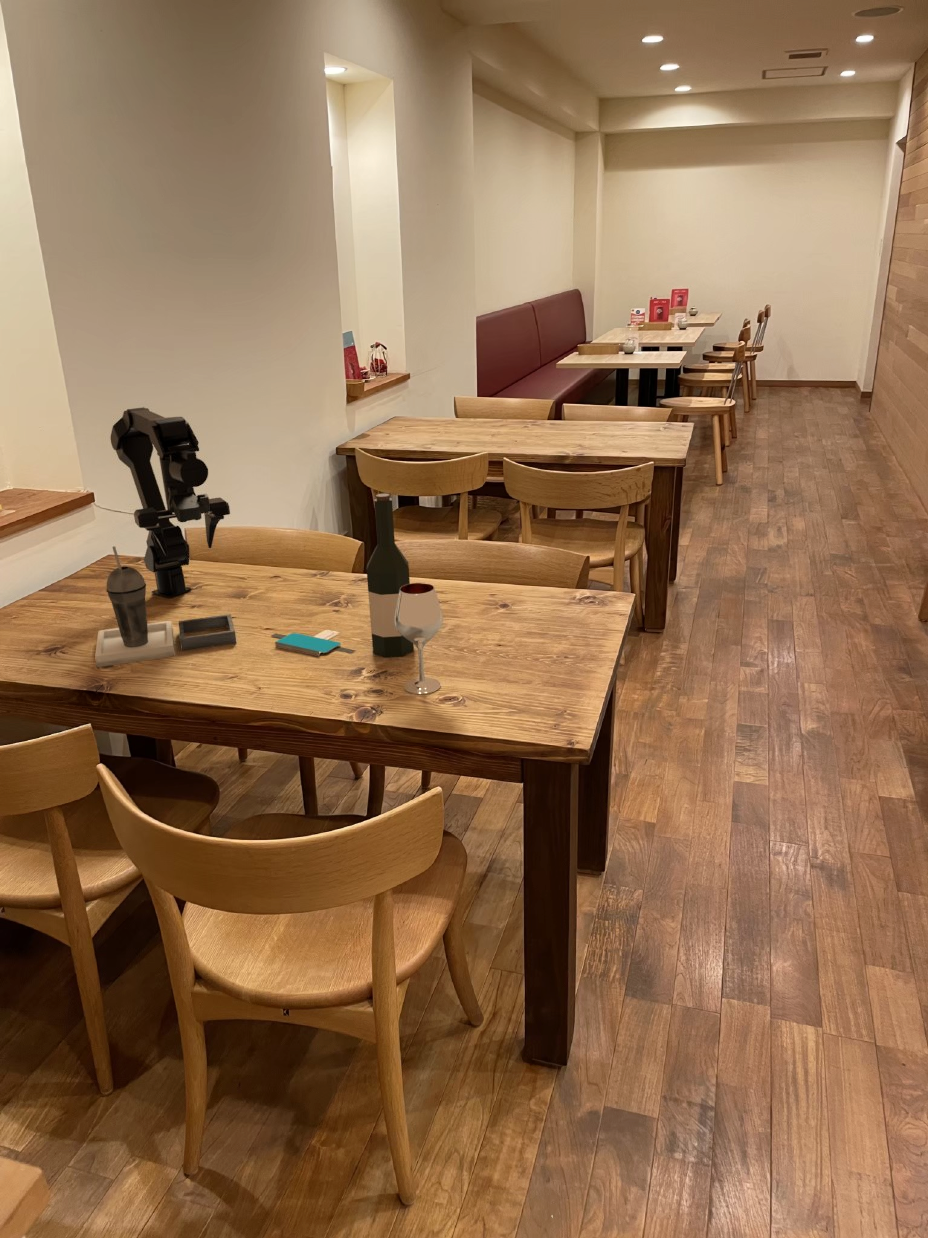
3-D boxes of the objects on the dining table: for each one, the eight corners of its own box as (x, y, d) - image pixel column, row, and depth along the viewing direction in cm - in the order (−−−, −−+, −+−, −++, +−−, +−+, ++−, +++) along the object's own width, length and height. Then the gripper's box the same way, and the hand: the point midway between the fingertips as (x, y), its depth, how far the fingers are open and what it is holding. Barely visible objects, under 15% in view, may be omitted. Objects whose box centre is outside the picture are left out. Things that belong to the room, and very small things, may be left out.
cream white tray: (97, 667, 168) (94, 656, 167) (100, 640, 181) (98, 630, 180) (174, 655, 172) (172, 645, 171) (173, 630, 185) (171, 620, 184)
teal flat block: (374, 642, 176) (373, 634, 176) (337, 665, 167) (336, 657, 166) (295, 626, 186) (294, 618, 185) (255, 646, 176) (254, 639, 176)
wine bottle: (381, 661, 166) (369, 503, 155) (365, 646, 173) (352, 493, 162) (422, 652, 170) (413, 496, 159) (404, 637, 177) (394, 487, 166)
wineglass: (398, 678, 159) (392, 581, 153) (444, 675, 160) (440, 579, 153) (399, 698, 151) (392, 598, 145) (447, 695, 152) (442, 595, 145)
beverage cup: (163, 639, 178) (147, 541, 170) (135, 652, 172) (117, 552, 164) (136, 633, 181) (119, 538, 174) (108, 646, 175) (89, 548, 168)
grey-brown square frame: (181, 651, 174) (180, 639, 173) (180, 632, 183) (178, 621, 182) (236, 643, 177) (234, 631, 176) (232, 625, 186) (230, 613, 185)
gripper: (138, 492, 175) (151, 568, 181) (232, 479, 184) (241, 552, 189) (127, 483, 185) (140, 555, 190) (218, 470, 193) (227, 540, 198)
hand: (188, 551), depth 192 cm, fingers open, 9 cm apart
